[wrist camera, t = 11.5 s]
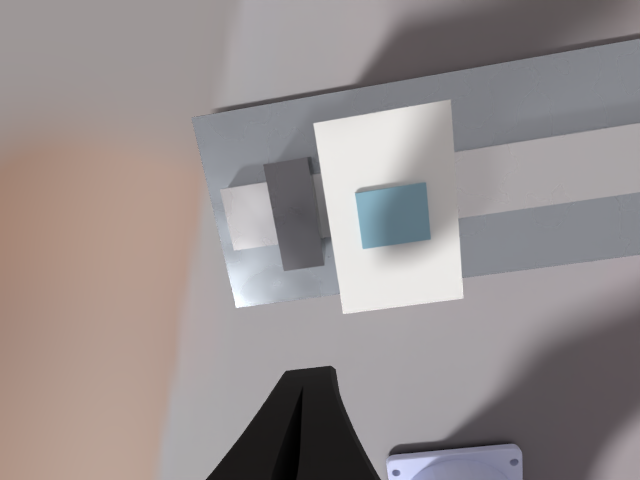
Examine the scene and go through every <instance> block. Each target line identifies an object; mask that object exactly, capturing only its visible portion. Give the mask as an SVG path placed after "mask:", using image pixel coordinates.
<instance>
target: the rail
mask: <svg viewBox="0 0 640 480" xmlns="http://www.w3.org/2000/svg"><path fill="white" fill-rule="evenodd" d="M450 99H451V110H452V126H453V142H454V158H455V174H456V190H457V206H458V222H459V238H460V254H461V270H462V278H466V277H474V276H481V275H489V274H497V273H504V272H512V271H520V270H527V269H535V268H542V267H550V266H558V265H565V264H573V263H581V262H588V261H596V260H603V259H611V258H619V257H626V256H634V255H640V39H635V40H629V41H624V42H618V43H612V44H607V45H601V46H595V47H590V48H584V49H578V50H572V51H567V52H561V53H555V54H550V55H544V56H538V57H533V58H527V59H521V60H516V61H510V62H504V63H499V64H493V65H487V66H482V67H476V68H470V69H465V70H459V71H453V72H447V73H442V74H436V75H430V76H425V77H419V78H413V79H408V80H402V81H396V82H391V83H385V84H379V85H374V86H368V87H362V88H357V89H351V90H345V91H340V92H334V93H328V94H323V95H317V96H311V97H305V98H300V99H294V100H288V101H283V102H277V103H271V104H266V105H260V106H254V107H249V108H243V109H237V110H232V111H226V112H220V113H215V114H209V115H204V116H198V117H192V122H193V126H194V130H195V134H196V139H197V143H198V147H199V152H200V156H201V160H202V164H203V169H204V173H205V177H206V181H207V185H208V190H209V194H210V198H211V202H212V207H213V211H214V215H215V219H216V224H217V228H218V232H219V236H220V240H221V245H222V249H223V253H224V257H225V262H226V266H227V270H228V274H229V279H230V283H231V287H232V291H233V295H234V300H235V304H236V308H237V307H245V306H253V305H260V304H268V303H275V302H283V301H291V300H298V299H306V298H314V297H321V296H329V295H336V294H340V289H339V283H338V277H337V270H336V264H335V257H334V251H333V245H332V238H331V232H330V226H329V219H328V213H327V207H326V200H325V194H324V188H323V181H322V175H321V169H320V162H319V156H318V150H317V143H316V137H315V130H314V124H313V123H318V122H324V121H330V120H335V119H341V118H347V117H353V116H358V115H364V114H370V113H376V112H381V111H387V110H393V109H398V108H404V107H410V106H416V105H421V104H427V103H433V102H439V101H444V100H450Z"/></svg>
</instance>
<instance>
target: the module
mask: <svg viewBox="0 0 640 480" xmlns="http://www.w3.org/2000/svg"><path fill="white" fill-rule="evenodd" d="M313 124H314V130H315V137H316V143H317V150H318V156H319V162H320V169H321V175H322V181H323V188H324V194H325V200H326V207H327V213H328V219H329V226H330V232H331V238H332V245H333V251H334V257H335V264H336V270H337V277H338V283H339V289H340V296H341V302H342V308H343V314H347V313H355V312H362V311H370V310H378V309H385V308H393V307H401V306H408V305H416V304H424V303H431V302H439V301H447V300H454V299H462V298H463V286H462V270H461V254H460V238H459V222H458V206H457V190H456V174H455V158H454V142H453V126H452V110H451V99H450V100H444V101H439V102H433V103H427V104H421V105H416V106H410V107H404V108H398V109H393V110H387V111H381V112H376V113H370V114H364V115H358V116H353V117H347V118H341V119H335V120H330V121H324V122H318V123H313Z"/></svg>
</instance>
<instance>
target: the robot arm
mask: <svg viewBox="0 0 640 480" xmlns="http://www.w3.org/2000/svg"><path fill="white" fill-rule="evenodd" d="M512 459H513V460H512ZM386 464H387V472H388V479H389V480H523V471H522V451H521V450H520V448H519V447H518V446H517V445H515V444H503V445H492V446H481V447H471V448H460V449H450V450H439V451H428V452H418V453H407V454H397V455H391V456H389V457H388V458H387V460H386ZM395 470H396V471H395ZM206 480H381V479H380V478H379V476H378V474H377V473H376V471H375V469H374V467H373V465H372V464H371V462H370V460H369V458H368V456H367V454H366V453H365V451H364V449H363V447H362V445H361V443H360V441H359V439H358V437H357V435H356V433H355V431H354V429H353V426H352V424H351V422H350V419H349V417H348V415H347V412H346V410H345V407H344V405H343V402H342V399H341V396H340V393H339V387H338V381H337V375H336V369H334V368H333V367H332V366H324V367H316V368H307V369H298V370H290V371H286V372H285V373H284V374H283V375H282V377H281V378H280V380H279V381H278V383H277V384H276V386H275V387H274V389H273V390H272V392H271V394H270V395H269V397H268V398H267V400H266V401H265V402H264V404H263V405H262V407H261V408H260V410H259V411H258V413H257V414H256V415H255V417H254V418H253V420H252V421H251V422H250V424H249V425H248V427H247V428H246V430H245V431H244V432H243V434H242V435H241V436H240V438H239V439H238V440H237V442H236V443H235V444H234V445H233V447H232V448H231V449H230V450H229V452H228V453H227V454H226V456H225V457H224V458H223V459H222V461H221V462H220V463H219V464H218V466H217V467H216V468H215V469H214V471H213V472H212V473H211V474H210V475H209V476H208V478H207V479H206Z"/></svg>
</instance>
